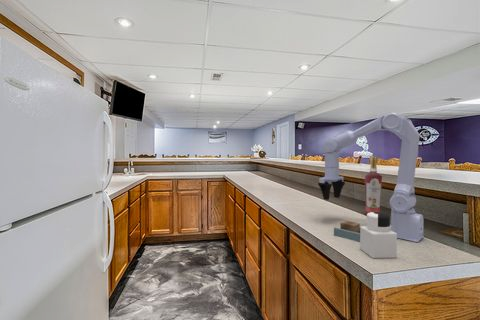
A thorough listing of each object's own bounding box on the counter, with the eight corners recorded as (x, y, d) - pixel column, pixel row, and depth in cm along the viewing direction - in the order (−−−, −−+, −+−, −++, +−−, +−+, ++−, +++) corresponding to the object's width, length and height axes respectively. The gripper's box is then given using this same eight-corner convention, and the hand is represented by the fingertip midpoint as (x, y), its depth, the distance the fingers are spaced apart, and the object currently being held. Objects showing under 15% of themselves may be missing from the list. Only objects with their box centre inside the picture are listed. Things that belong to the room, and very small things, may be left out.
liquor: (365, 216, 117) (366, 156, 116) (362, 212, 124) (363, 156, 123) (383, 217, 115) (384, 157, 114) (379, 213, 122) (380, 156, 121)
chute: (372, 236, 89) (372, 229, 89) (362, 242, 83) (362, 234, 83) (344, 230, 96) (344, 223, 96) (333, 234, 91) (333, 228, 91)
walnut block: (359, 235, 90) (359, 223, 90) (354, 238, 87) (354, 225, 87) (346, 232, 94) (346, 220, 94) (340, 235, 91) (340, 222, 91)
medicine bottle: (381, 248, 78) (382, 210, 77) (397, 258, 71) (397, 216, 70) (359, 248, 78) (360, 210, 77) (372, 258, 70) (373, 216, 70)
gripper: (333, 166, 115) (333, 195, 116) (313, 167, 107) (313, 198, 107) (347, 167, 109) (347, 197, 110) (327, 168, 101) (327, 201, 101)
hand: (331, 198), depth 108 cm, fingers open, 7 cm apart
